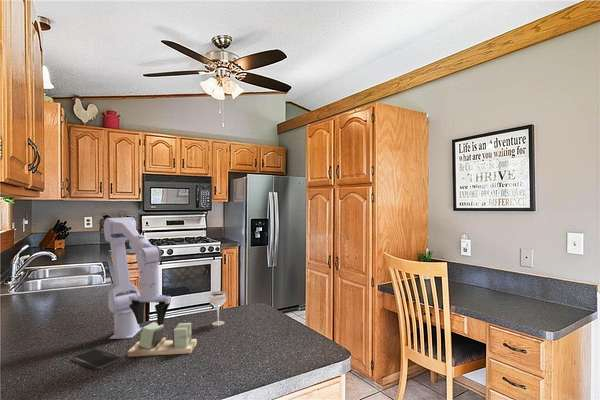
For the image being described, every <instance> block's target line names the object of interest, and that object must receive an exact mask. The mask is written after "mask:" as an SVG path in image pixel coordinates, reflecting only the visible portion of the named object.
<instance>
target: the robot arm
mask: <svg viewBox="0 0 600 400" xmlns="http://www.w3.org/2000/svg"><path fill="white" fill-rule="evenodd" d="M103 234H104V240H105V241H106V242H109V244H110V250H111V251H110V252H111V259H112V266H113V267H112V268H113V274H114V282H115V286H114V287H113V288H112V289H110V291H109V292H108V295H107V297H108V298H107V306H108V307H107V308H108V310H109V311H110V313H112V314H113V325H114V328H113V331H114V332H113V335H111V336H110V337H109V340H115V339H116V340H117V339H119V340H120V339H121V340H122V339H132V338H133V337H134V336H136V335H137V334H138V333H139V332H140V331H142V328H143V327H140V325H141V324H143V323H144V319H145V318H144V313H145V306H146V305H145V304H146V303H155V305H154V308H155V312H156V319H157V321H156V323H158V325H159V326H160V325H164V322H165V317H166V314H167V311H168V309H169V307H170V305H171V303H172V296H170V295H163V294H160V291H159V290H160V285H159V280H160V279H159V263H160V262H161V260H162V251H161V249H160V247H159V245H152V244H151V242H150V241H149V239H148V238H147V237H146V236H145V235H144V234H140V233H139V232H138V230H137V221H136V219H135V218H134V216H128V217H127V216H126V217H106V218H105V220H104V222H103ZM127 240H128V241H129V243H128V245H129V247H130V249H131V250H132V251H133V253H135V261H136V263H137V269H138V271H139V288H138V286H136V285H135V284H133V283H131V279H130V274H129V273H130V271H129V265H128V257H127V251H126V249H127V248H126V241H127Z"/></svg>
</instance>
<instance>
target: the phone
mask: <svg viewBox="0 0 600 400" xmlns="http://www.w3.org/2000/svg"><path fill="white" fill-rule="evenodd" d="M71 360H72V361H73V362H75V363H77V364H79V365H82V366H84V367H85V368H86V367H87V368H89V369H90V370H93V371H100V370H103V369H104V368H107V367H109V366H111V365H114V364H117V363H119V362H120V361H121V357H120V356H117V355H115V354H112V353H109V352H107V351H105V350H102V349H100V348H93V349H91V350H88V351H85V352H82V353H80V354H76V355H74V356H73V357H72V359H71ZM116 362H117V363H116ZM102 368H103V369H102Z"/></svg>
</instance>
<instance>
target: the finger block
mask: <svg viewBox="0 0 600 400" xmlns="http://www.w3.org/2000/svg"><path fill="white" fill-rule="evenodd" d="M141 328H142V329H141V332H140V333H141V334H140V337H139V338H140V339H139V341H138V342H139V346H142V347H145V348H148V349H150V348H152V347H154V346H155V345H157V344H158V343H159V342H160V341H161V340H162V339H163V336H164V335H163V334H164V330H165V324H162V325H160V326H159V325H158V323H157V322H155V321H152V322H151V323H149V324H147V325H144V326H143V327H141Z"/></svg>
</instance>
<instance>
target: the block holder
mask: <svg viewBox="0 0 600 400" xmlns="http://www.w3.org/2000/svg"><path fill="white" fill-rule="evenodd" d="M139 342H140V341H137V342H135V344H134V345H133V346H132V347H130V348H129V350H128V351H127V357H143V356H147V357H148V356H161V355H162V356H163V355H164V356H165V355H180V354H181V355H184V354H185V355H186V354H192V352H193V351H194V348H195V347H196V345H197V344H198V340H197V338H192V322H182V323H181V322H179V323H178V324H177V325H176V326H175V327H174V329H173V330H172V339H168V340H167V337H162V340H161V341H160V342H159V343H158V344H157V345H155V346H154V347H152V348H150V349H148V348H145V347H142V346H139Z"/></svg>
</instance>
